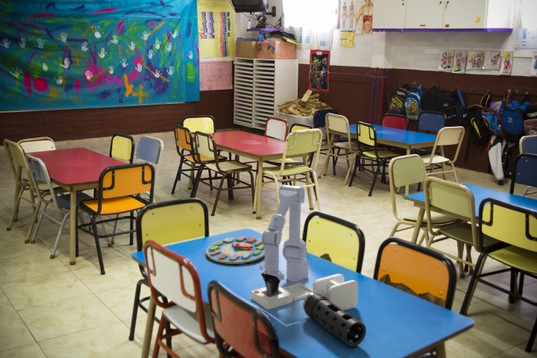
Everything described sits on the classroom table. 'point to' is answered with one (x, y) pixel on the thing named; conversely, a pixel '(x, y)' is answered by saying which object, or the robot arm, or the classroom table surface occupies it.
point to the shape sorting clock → (236, 250)
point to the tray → (298, 291)
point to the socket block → (271, 298)
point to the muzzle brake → (334, 319)
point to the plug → (268, 290)
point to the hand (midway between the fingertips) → (271, 291)
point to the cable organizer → (337, 290)
